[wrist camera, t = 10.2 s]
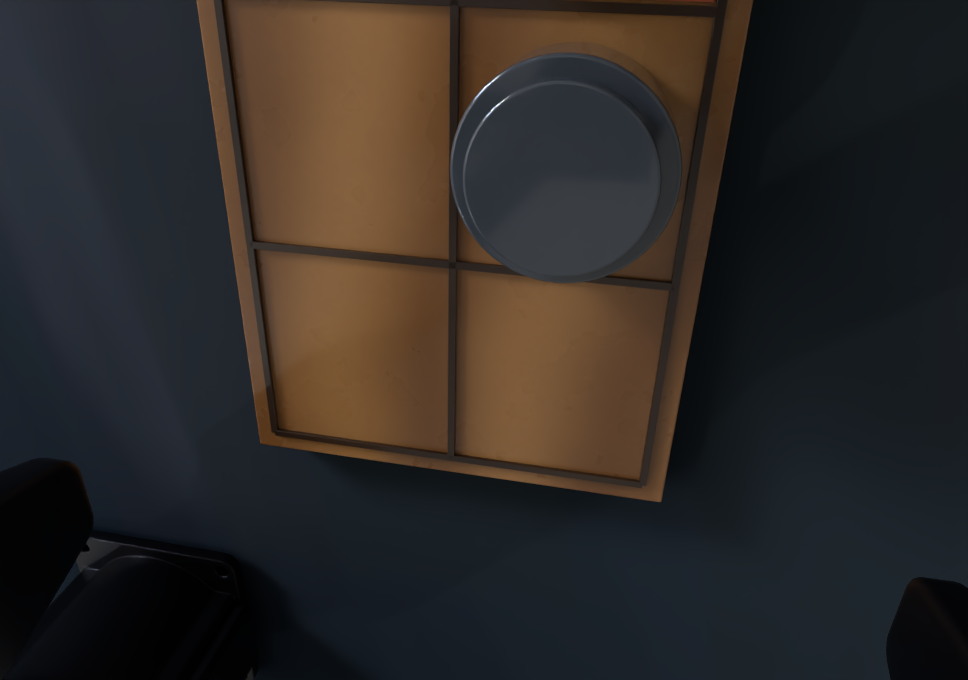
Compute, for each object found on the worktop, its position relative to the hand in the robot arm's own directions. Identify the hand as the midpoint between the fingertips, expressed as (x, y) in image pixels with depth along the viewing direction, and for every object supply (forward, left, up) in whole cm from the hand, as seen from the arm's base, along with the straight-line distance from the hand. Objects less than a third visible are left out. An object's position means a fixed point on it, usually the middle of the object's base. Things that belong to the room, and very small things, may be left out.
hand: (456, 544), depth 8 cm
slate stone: (0, +2, -11) cm, 11 cm away
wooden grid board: (-3, +2, -12) cm, 12 cm away
